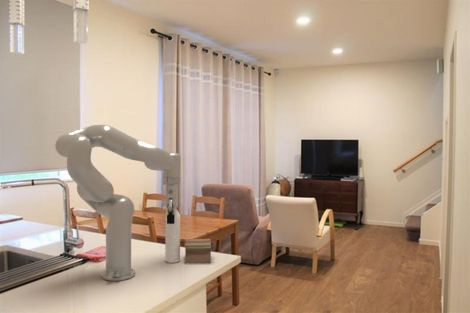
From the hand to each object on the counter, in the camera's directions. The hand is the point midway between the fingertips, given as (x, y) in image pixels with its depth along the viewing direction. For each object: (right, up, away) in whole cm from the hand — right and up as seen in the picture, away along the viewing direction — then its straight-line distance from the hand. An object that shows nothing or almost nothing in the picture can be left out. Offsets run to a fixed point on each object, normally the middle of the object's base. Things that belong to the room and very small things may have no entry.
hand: (171, 221), depth 168 cm
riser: (+11, -18, +4) cm, 21 cm away
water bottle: (0, -18, +1) cm, 18 cm away
